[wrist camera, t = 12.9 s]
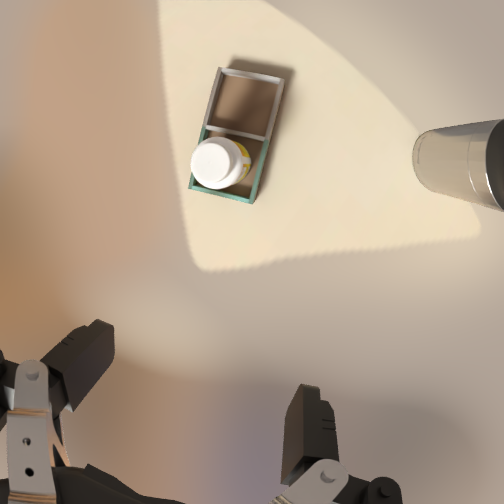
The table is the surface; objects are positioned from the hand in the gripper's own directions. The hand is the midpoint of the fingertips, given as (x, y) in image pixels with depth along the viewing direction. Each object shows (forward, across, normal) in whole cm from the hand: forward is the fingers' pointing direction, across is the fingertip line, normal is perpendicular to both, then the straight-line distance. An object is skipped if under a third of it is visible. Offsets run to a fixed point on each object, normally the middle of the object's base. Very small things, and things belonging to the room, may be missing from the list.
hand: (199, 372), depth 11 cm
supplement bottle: (+29, +6, -7) cm, 30 cm away
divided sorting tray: (+30, +6, -11) cm, 33 cm away
